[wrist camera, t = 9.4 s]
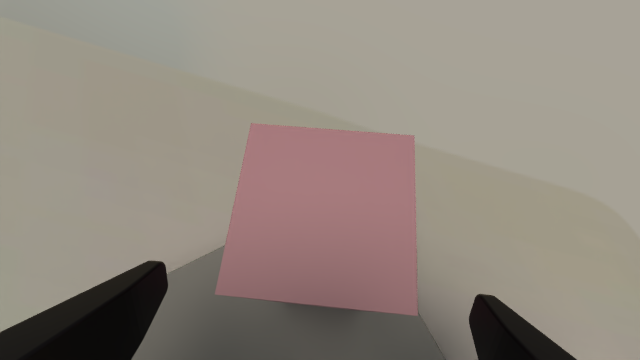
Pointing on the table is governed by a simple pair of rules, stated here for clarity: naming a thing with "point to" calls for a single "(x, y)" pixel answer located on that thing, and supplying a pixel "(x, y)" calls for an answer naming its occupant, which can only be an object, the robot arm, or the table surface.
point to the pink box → (324, 220)
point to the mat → (271, 326)
